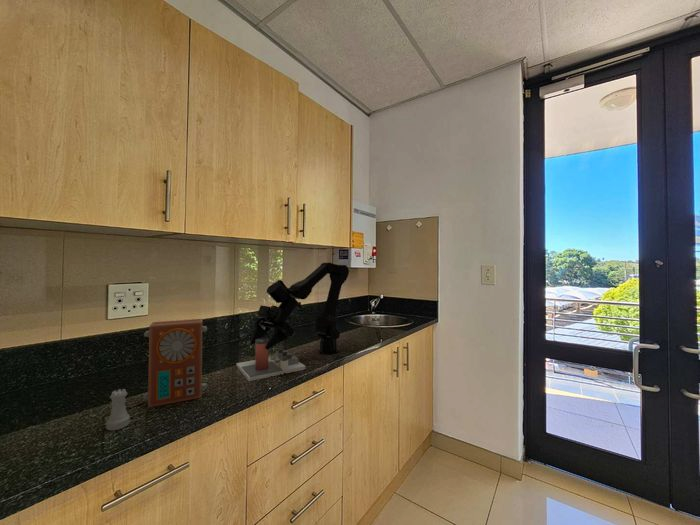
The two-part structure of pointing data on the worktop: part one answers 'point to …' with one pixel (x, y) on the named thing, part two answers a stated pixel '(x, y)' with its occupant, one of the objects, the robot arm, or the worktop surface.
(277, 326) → the robot arm
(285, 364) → the breaker board
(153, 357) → the control panel
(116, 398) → the rook chess piece
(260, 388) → the worktop surface
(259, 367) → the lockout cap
